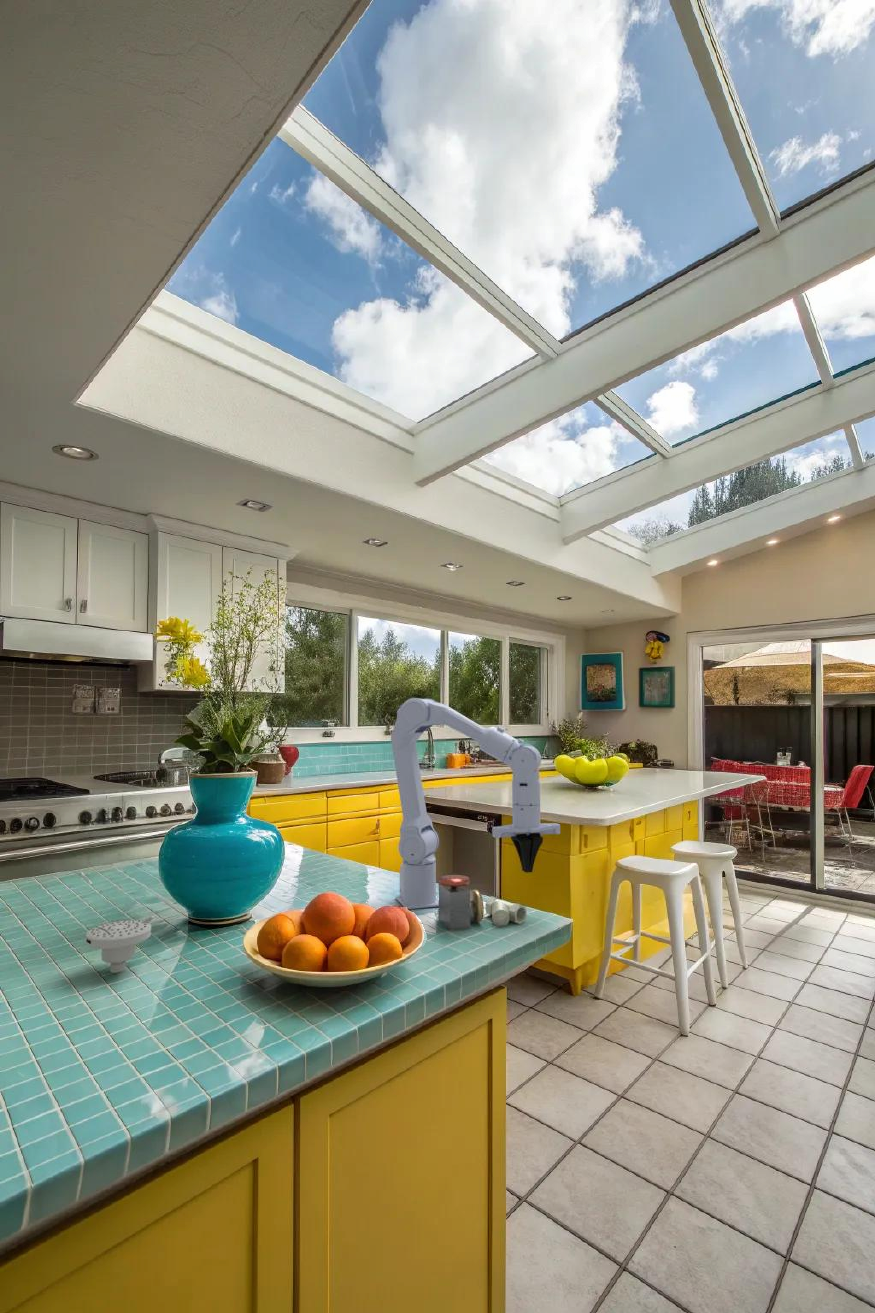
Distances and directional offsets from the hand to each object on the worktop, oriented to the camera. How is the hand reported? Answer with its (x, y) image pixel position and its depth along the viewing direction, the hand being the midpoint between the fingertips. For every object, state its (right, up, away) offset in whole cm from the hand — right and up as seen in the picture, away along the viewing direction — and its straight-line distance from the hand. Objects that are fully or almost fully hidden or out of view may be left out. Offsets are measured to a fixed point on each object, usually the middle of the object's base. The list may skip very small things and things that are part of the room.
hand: (527, 871), depth 135 cm
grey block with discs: (-14, -8, -7) cm, 17 cm away
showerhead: (-69, -6, -30) cm, 76 cm away
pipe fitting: (-6, -9, -5) cm, 12 cm away
